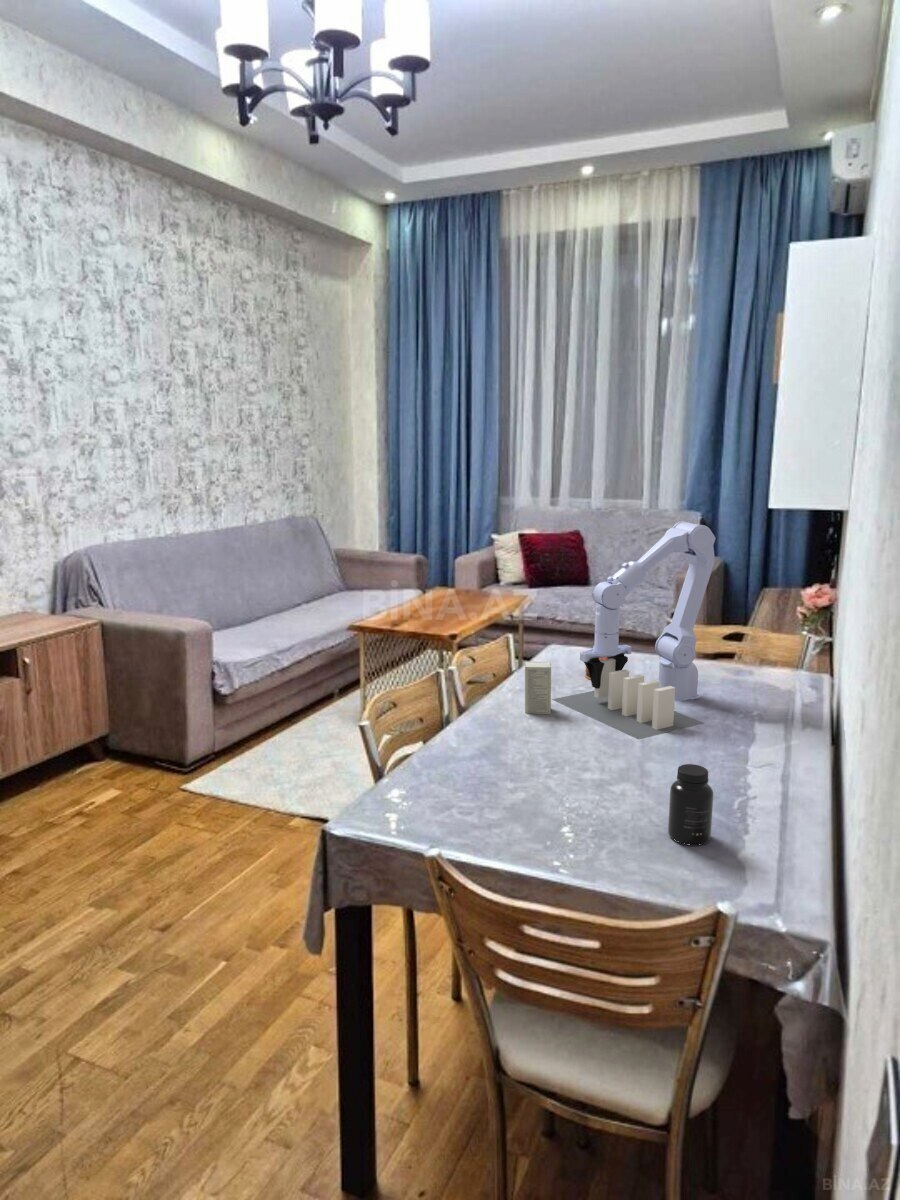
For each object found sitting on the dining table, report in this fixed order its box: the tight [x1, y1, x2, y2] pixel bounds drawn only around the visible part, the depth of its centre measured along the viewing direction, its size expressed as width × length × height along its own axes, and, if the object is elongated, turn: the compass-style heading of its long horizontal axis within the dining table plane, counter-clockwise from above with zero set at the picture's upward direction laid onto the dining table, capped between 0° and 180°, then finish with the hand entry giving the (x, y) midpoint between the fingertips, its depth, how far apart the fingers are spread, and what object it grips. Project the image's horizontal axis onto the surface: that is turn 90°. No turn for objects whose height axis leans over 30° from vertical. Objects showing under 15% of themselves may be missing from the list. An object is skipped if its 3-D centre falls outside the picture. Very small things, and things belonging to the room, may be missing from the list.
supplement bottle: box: [667, 763, 714, 846], centre depth 134 cm, size 7×7×12 cm
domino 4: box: [637, 679, 659, 723], centre depth 187 cm, size 2×5×9 cm, turn 120°
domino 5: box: [652, 686, 676, 730], centre depth 183 cm, size 2×5×9 cm, turn 120°
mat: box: [551, 690, 704, 740], centre depth 195 cm, size 20×31×1 cm, turn 30°
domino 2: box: [608, 669, 630, 710], centre depth 196 cm, size 2×5×9 cm, turn 120°
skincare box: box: [524, 661, 552, 715], centre depth 194 cm, size 6×4×12 cm
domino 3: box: [622, 674, 645, 716], centre depth 192 cm, size 2×5×9 cm, turn 120°
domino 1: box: [594, 658, 616, 698], centre depth 200 cm, size 2×5×9 cm, turn 120°
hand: (604, 685), depth 200 cm, fingers closed on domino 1, 5 cm apart
